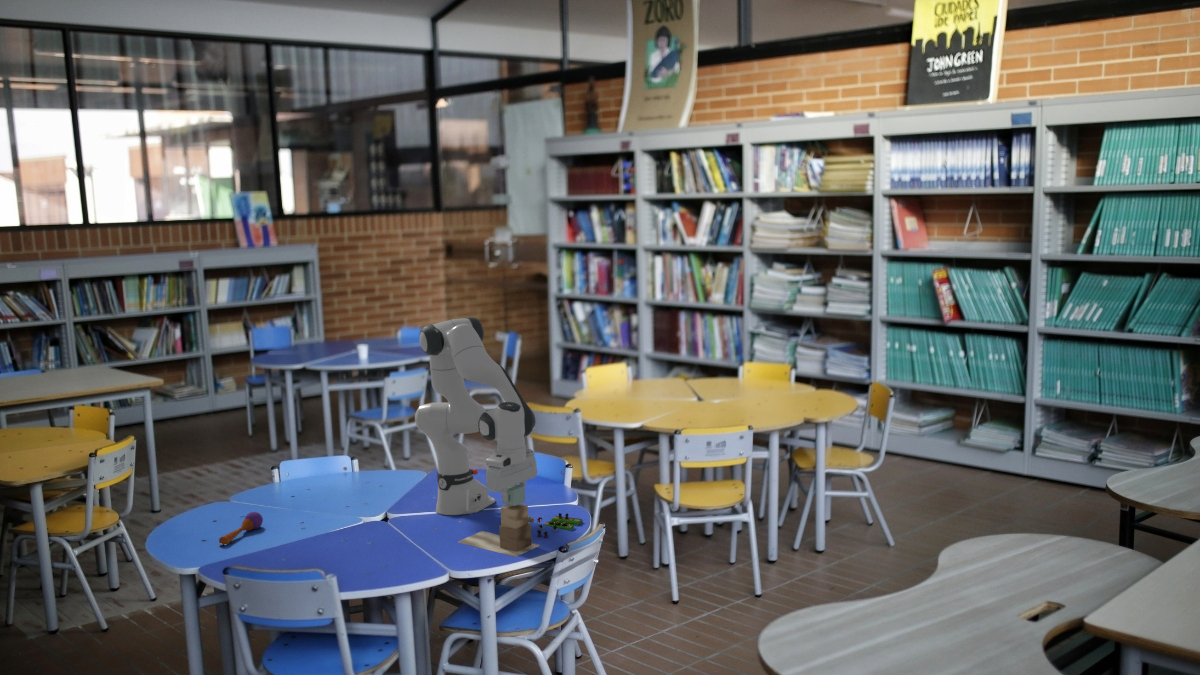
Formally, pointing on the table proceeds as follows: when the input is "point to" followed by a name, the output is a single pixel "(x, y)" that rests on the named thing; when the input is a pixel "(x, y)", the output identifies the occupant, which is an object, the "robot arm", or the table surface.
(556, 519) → the toy garden set
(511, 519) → the oak middle block
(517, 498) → the sage cube
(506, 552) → the birch board
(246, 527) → the orange and purple maraca
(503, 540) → the walnut base block
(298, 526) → the table surface
